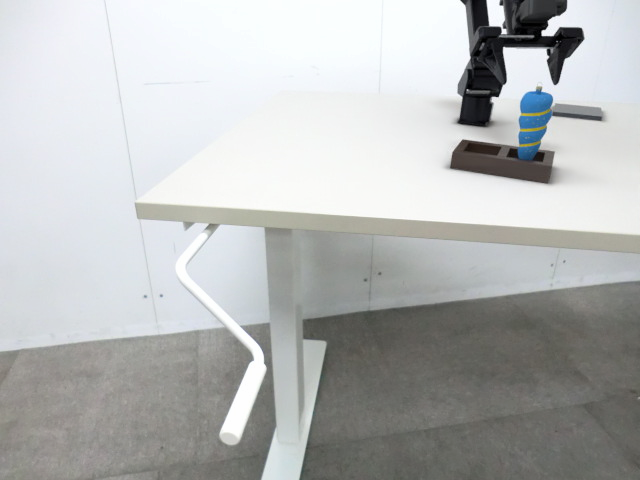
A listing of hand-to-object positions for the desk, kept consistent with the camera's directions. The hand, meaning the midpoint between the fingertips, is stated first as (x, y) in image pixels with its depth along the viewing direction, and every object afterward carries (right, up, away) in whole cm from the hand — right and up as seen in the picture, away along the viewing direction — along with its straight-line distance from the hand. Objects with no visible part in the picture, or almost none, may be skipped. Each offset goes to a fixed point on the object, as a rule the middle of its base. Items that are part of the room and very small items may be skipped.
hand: (530, 83), depth 85 cm
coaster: (+29, +5, +39) cm, 49 cm away
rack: (-5, -15, +1) cm, 16 cm away
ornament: (-2, -16, 0) cm, 16 cm away
